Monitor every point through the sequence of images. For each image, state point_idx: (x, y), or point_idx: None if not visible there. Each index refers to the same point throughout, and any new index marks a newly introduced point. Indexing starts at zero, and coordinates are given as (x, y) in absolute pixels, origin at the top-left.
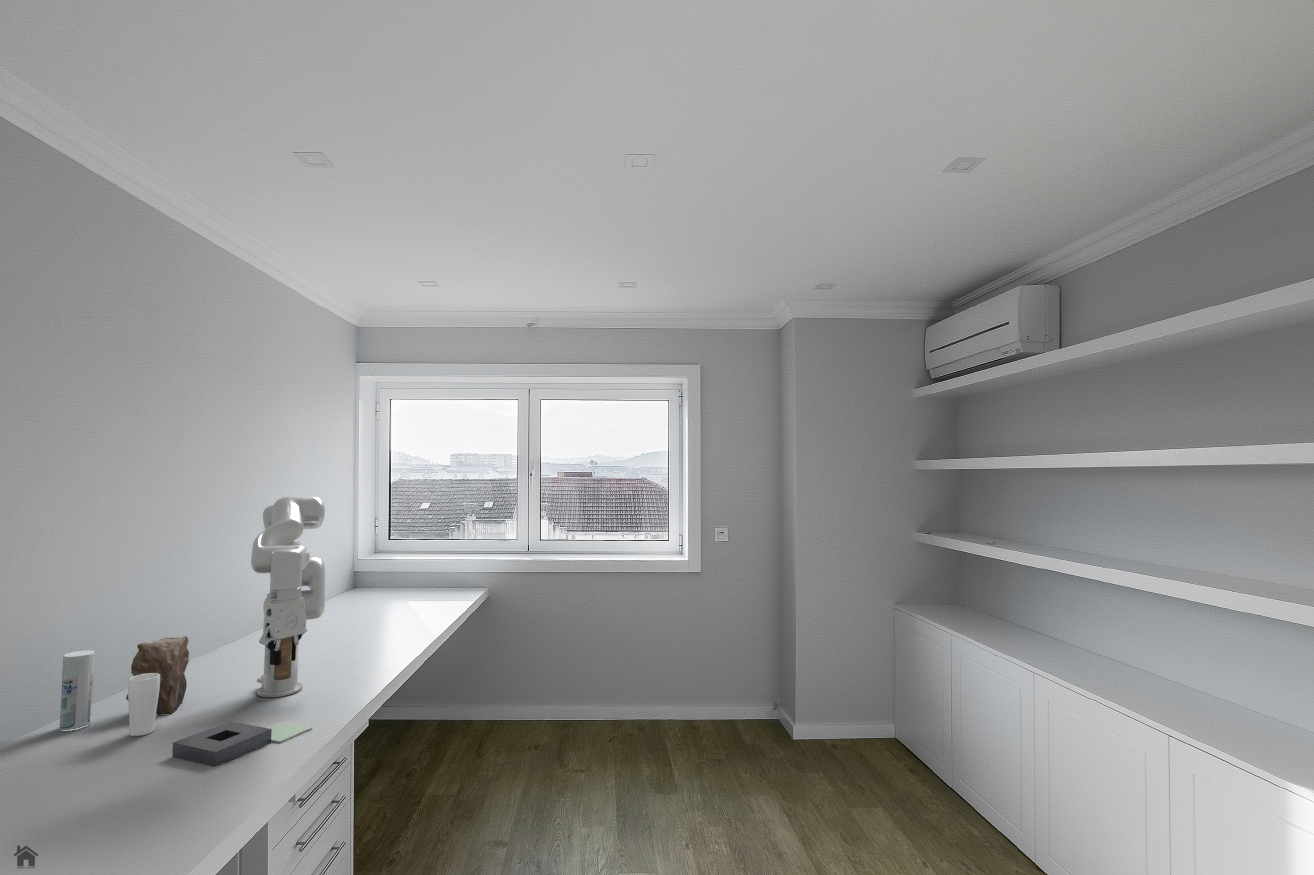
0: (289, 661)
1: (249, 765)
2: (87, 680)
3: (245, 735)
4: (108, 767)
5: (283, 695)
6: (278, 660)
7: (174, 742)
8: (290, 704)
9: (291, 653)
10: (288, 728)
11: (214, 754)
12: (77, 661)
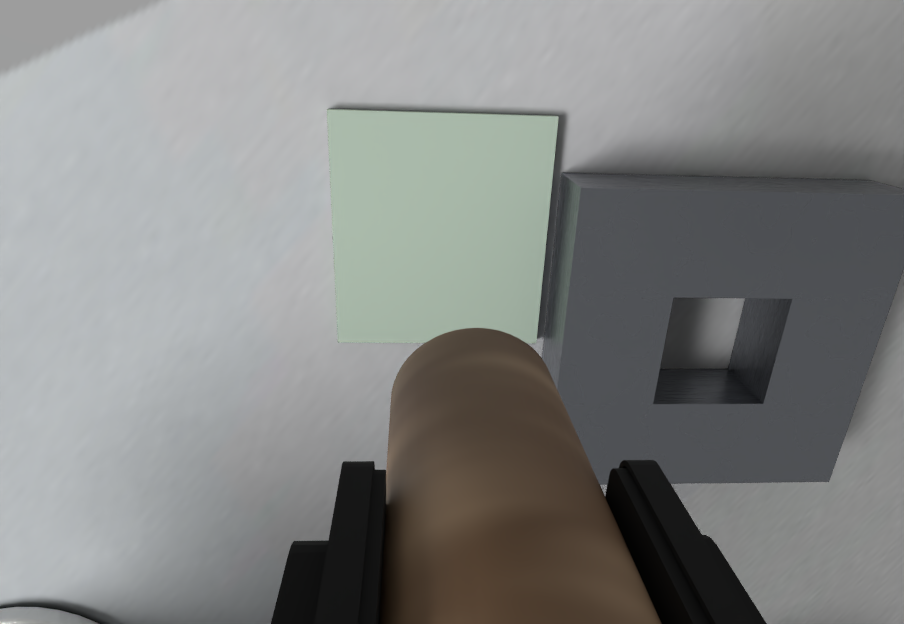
0: (483, 445)
1: (839, 18)
2: None
3: (699, 247)
4: (894, 546)
5: (80, 618)
6: (685, 510)
7: (828, 475)
8: (130, 512)
9: (434, 552)
10: (394, 233)
11: None
12: None
